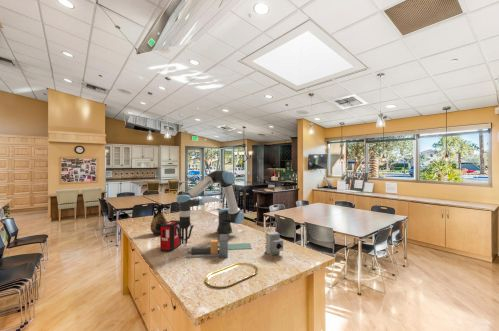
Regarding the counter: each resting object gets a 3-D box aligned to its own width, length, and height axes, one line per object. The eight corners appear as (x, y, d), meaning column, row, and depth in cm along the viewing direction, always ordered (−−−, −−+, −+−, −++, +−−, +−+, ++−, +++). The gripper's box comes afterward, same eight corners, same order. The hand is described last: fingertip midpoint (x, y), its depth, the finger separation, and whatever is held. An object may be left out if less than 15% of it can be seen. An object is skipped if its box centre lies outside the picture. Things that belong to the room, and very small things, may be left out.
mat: (226, 244, 191) (226, 243, 191) (250, 243, 193) (250, 243, 193) (226, 249, 179) (226, 249, 179) (251, 248, 181) (251, 248, 181)
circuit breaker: (275, 258, 163) (275, 237, 163) (265, 251, 175) (265, 232, 175) (284, 256, 166) (284, 235, 166) (273, 250, 179) (273, 230, 179)
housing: (188, 251, 176) (188, 235, 176) (227, 249, 179) (227, 233, 179) (185, 259, 161) (185, 241, 161) (227, 257, 164) (227, 240, 164)
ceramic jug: (167, 231, 229) (167, 201, 229) (167, 235, 214) (167, 203, 214) (149, 232, 223) (149, 202, 223) (147, 237, 209) (147, 204, 209)
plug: (192, 253, 171) (192, 240, 171) (219, 252, 173) (219, 239, 173) (191, 256, 166) (191, 242, 166) (219, 255, 168) (219, 241, 168)
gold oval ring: (199, 280, 133) (199, 277, 133) (244, 262, 157) (244, 260, 157) (218, 293, 119) (218, 290, 119) (264, 272, 143) (264, 269, 143)
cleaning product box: (171, 244, 192) (171, 220, 192) (181, 244, 190) (181, 220, 190) (160, 251, 176) (160, 225, 176) (170, 252, 174) (171, 225, 174)
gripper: (174, 217, 164) (174, 250, 164) (193, 217, 165) (192, 249, 165) (176, 215, 171) (176, 246, 171) (194, 214, 173) (194, 246, 172)
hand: (184, 248), depth 168 cm, fingers closed
